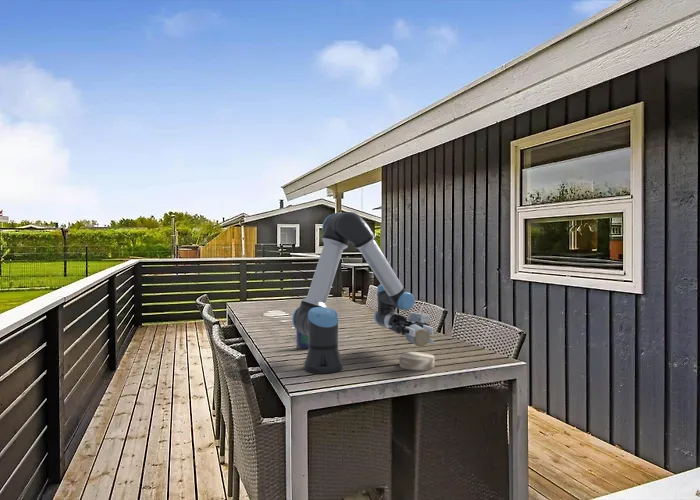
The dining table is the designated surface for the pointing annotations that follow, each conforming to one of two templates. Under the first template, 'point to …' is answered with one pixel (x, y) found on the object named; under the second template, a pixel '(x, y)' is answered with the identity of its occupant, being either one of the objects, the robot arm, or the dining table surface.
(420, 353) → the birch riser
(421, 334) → the ceramic mug
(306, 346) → the flask
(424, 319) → the incense holder
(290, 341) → the dining table surface
